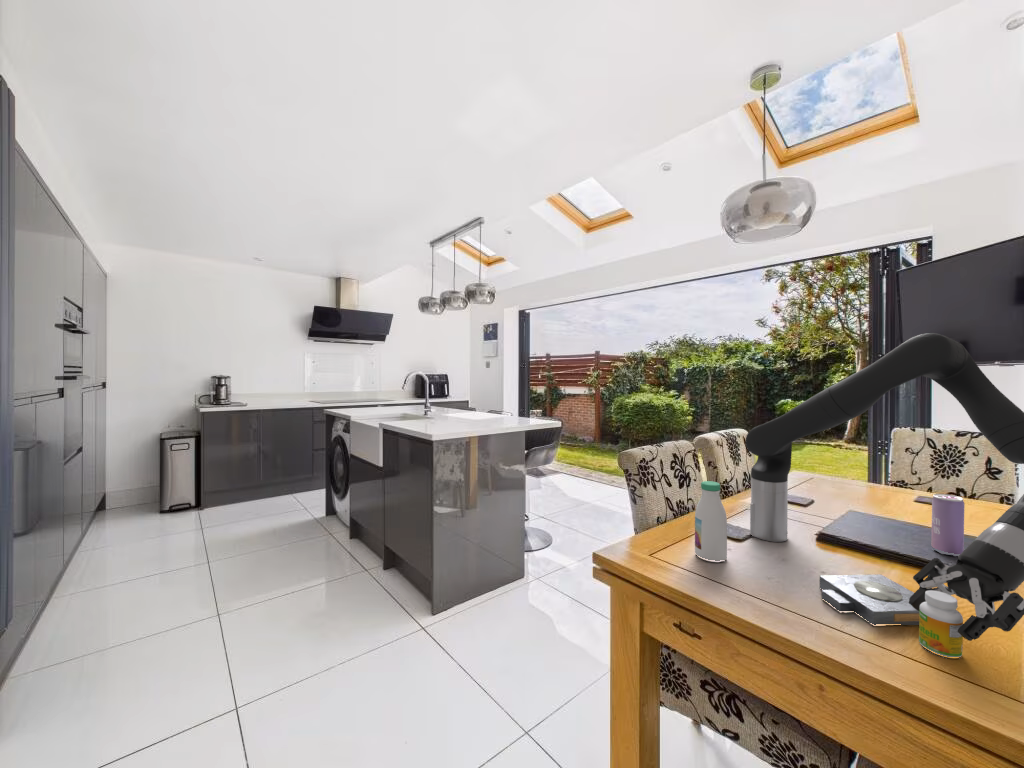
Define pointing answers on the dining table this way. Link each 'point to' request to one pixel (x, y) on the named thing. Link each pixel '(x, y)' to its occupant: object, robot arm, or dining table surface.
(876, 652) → the dining table surface
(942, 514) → the beverage can
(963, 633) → the robot arm
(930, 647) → the supplement bottle
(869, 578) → the grey coaster with tab
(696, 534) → the milk bottle
